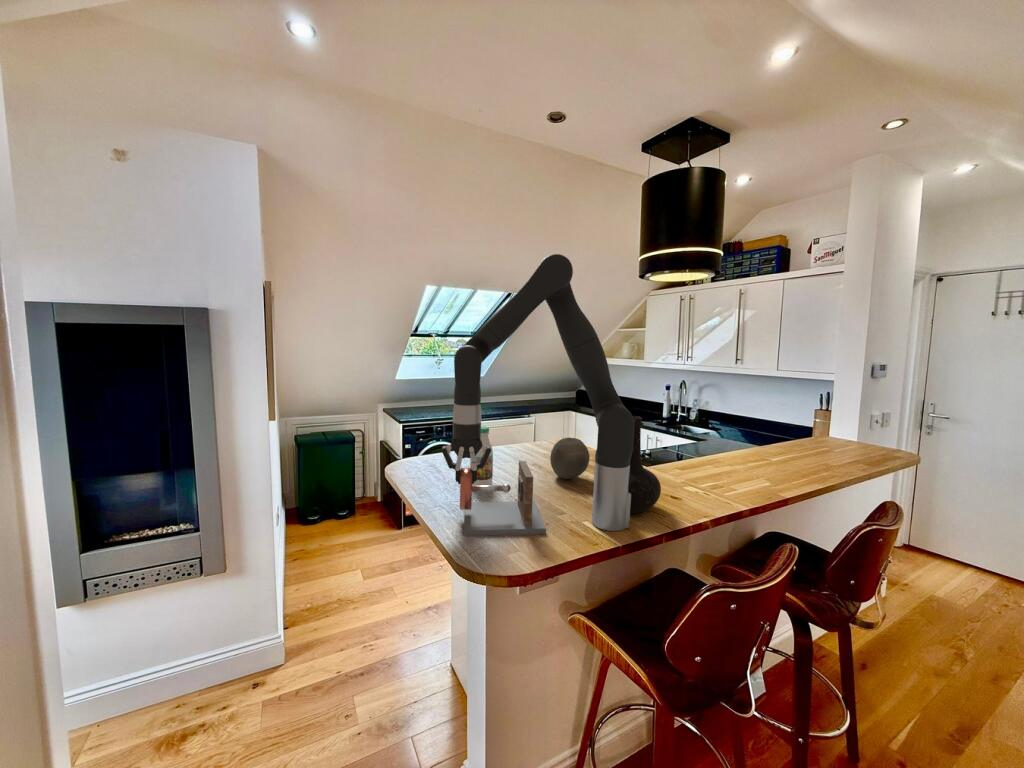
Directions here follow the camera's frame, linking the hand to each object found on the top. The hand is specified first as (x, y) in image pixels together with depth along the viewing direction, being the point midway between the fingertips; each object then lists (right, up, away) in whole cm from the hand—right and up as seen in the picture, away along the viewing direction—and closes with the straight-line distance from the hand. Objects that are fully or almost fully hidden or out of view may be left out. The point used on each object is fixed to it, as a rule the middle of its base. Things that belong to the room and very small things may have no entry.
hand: (465, 482), depth 112 cm
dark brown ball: (+33, -8, +38) cm, 51 cm away
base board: (+10, -11, +2) cm, 15 cm away
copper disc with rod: (+5, -7, +1) cm, 9 cm away
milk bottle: (+2, -8, +29) cm, 30 cm away
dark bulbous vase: (+48, -11, +13) cm, 51 cm away
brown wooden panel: (+16, -9, +3) cm, 18 cm away
